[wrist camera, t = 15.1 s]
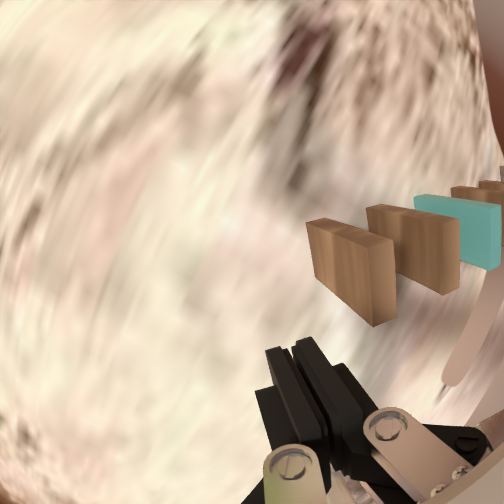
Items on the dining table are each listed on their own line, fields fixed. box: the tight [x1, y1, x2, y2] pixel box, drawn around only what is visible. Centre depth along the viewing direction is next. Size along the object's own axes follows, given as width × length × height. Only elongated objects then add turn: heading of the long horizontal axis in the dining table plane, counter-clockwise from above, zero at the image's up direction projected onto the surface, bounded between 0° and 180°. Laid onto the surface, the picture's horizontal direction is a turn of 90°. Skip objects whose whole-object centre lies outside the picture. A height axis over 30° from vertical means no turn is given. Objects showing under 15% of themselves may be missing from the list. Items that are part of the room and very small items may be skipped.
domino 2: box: [366, 204, 460, 295], centre depth 21 cm, size 2×5×10 cm, turn 13°
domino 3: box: [414, 194, 502, 271], centre depth 22 cm, size 2×5×10 cm, turn 13°
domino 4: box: [451, 186, 504, 246], centre depth 22 cm, size 2×5×10 cm, turn 13°
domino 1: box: [306, 218, 397, 327], centre depth 21 cm, size 2×5×10 cm, turn 13°
